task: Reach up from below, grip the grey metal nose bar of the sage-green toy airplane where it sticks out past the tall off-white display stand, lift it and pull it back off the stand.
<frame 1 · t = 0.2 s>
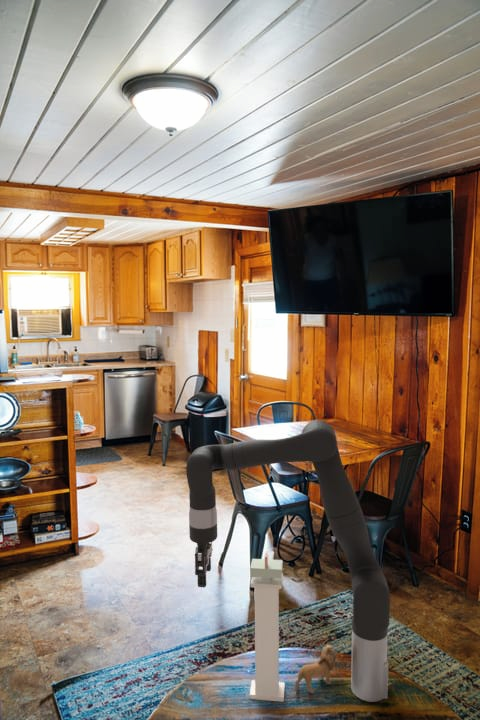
hand: (204, 578, 149), 29 cm above the table, tool pointing down, fingers open, 8 cm apart
stand: (267, 692, 146), on the table
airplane: (266, 579, 142), point 32 cm above the table, touching stand
lion figurine: (315, 684, 149), on the table
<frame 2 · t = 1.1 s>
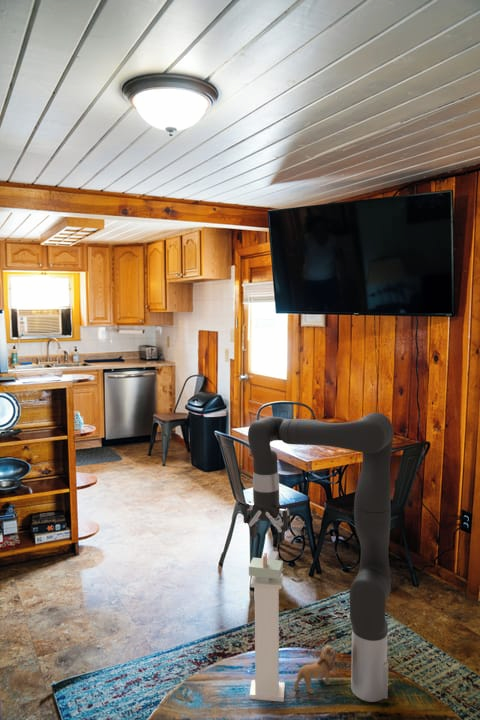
hand: (267, 540, 159), 35 cm above the table, tool pointing down, fingers open, 8 cm apart
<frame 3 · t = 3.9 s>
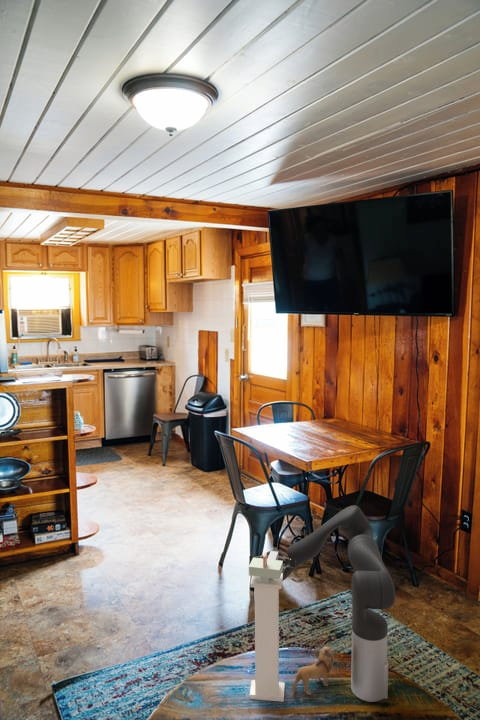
hand: (271, 560, 162), 27 cm above the table, tool pointing upward, fingers open, 8 cm apart
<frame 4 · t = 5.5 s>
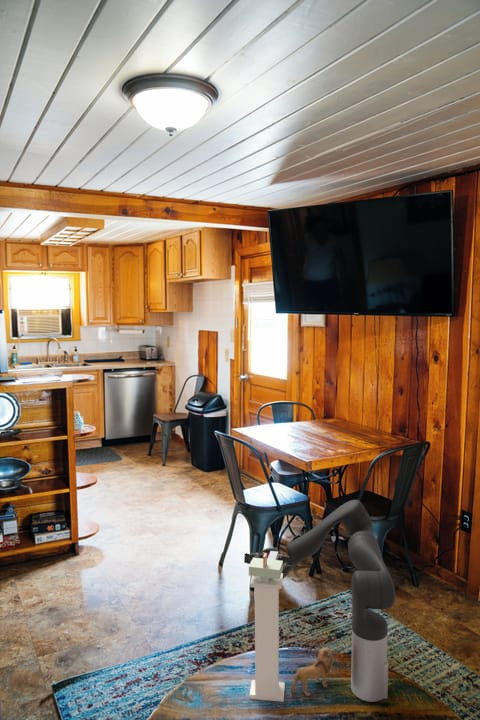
hand: (267, 558, 153), 32 cm above the table, tool pointing upward, fingers open, 8 cm apart
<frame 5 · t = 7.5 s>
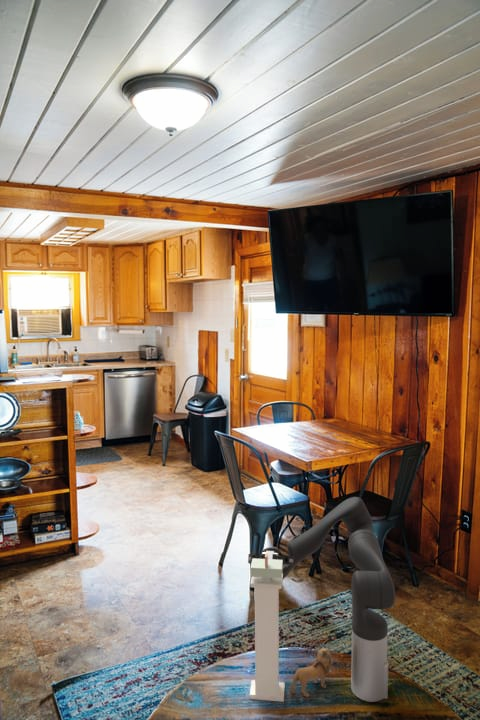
hand: (268, 557, 148), 35 cm above the table, tool pointing upward, fingers closed on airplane
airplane: (266, 578, 142), point 33 cm above the table, touching gripper, stand
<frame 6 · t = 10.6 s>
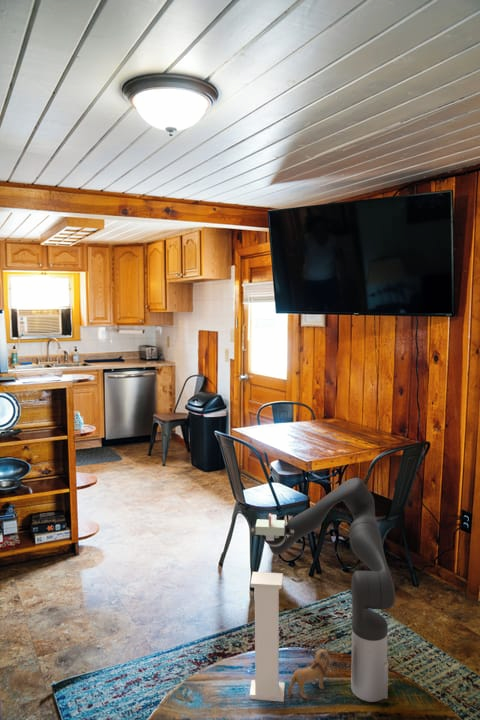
hand: (270, 527, 158), 39 cm above the table, tool pointing upward, fingers closed on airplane
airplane: (270, 537, 155), point 37 cm above the table, touching gripper
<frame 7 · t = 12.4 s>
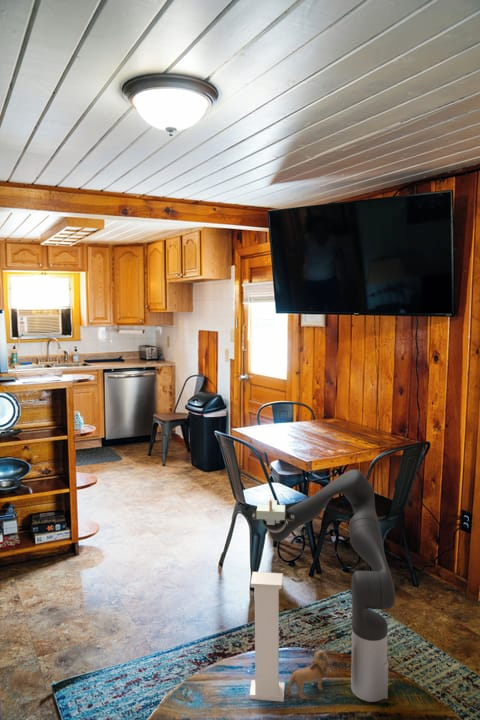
hand: (271, 512, 160), 42 cm above the table, tool pointing upward, fingers closed on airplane
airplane: (271, 521, 158), point 41 cm above the table, touching gripper
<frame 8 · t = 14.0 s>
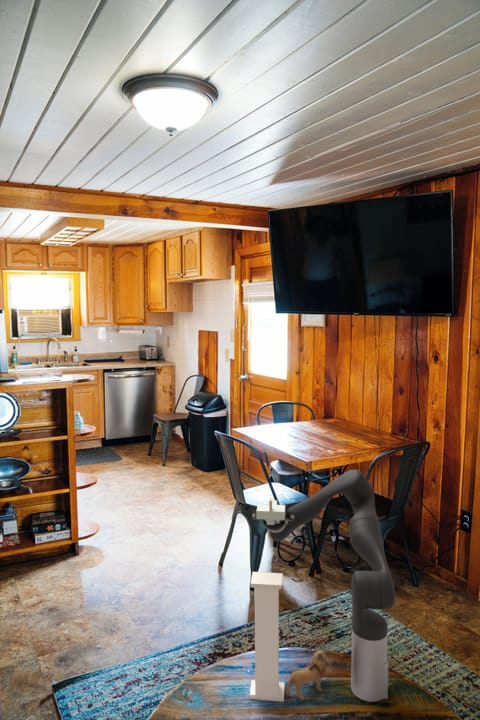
hand: (271, 512, 160), 42 cm above the table, tool pointing upward, fingers closed on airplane
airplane: (271, 521, 158), point 41 cm above the table, touching gripper
at the end: the gripper is holding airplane; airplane touching gripper; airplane inside the target area (1.1 cm from its centre), point 40.6 cm above the table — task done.
